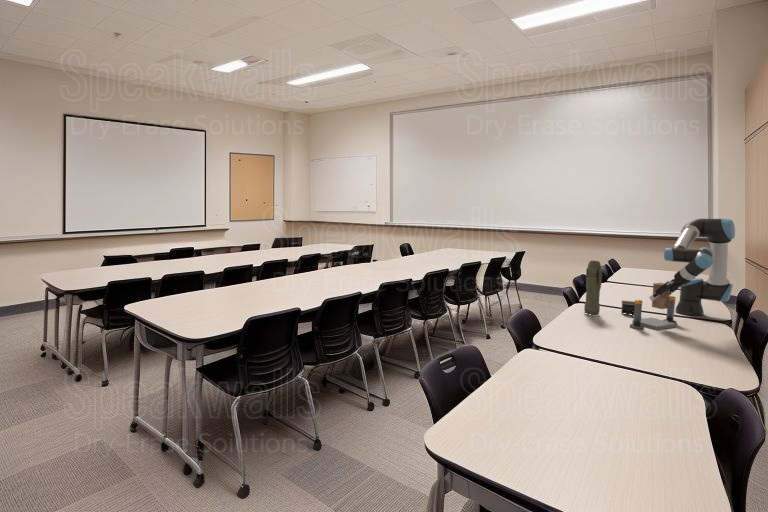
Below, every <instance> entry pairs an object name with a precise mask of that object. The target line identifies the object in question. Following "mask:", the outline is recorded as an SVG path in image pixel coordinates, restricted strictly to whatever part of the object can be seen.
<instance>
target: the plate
mask: <svg viewBox="0 0 768 512" xmlns="http://www.w3.org/2000/svg"><path fill="white" fill-rule="evenodd" d="M633 323H634V319H632V324H633ZM641 325H642V326H644V328H646V329H647V328H648V329H651V330H655V331H656V330H657V331H658V330H664V329H665V328H666V329H670V327H672V328H675V327H676V324H675V323H671V322H667V321H663V319H658V318H655V317H645V318H641Z"/></svg>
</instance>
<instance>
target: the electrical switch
mask: <svg viewBox="0 0 768 512" xmlns="http://www.w3.org/2000/svg"><path fill="white" fill-rule="evenodd" d="M634 308H635V300H634V301H633V300H632V301H631V300H624V299H623V300H621V311H620V312H621V314H622V315H624V314H623V313H626V314H632V315H631V316H633V315H634Z"/></svg>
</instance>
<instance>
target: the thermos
mask: <svg viewBox="0 0 768 512" xmlns="http://www.w3.org/2000/svg"><path fill="white" fill-rule="evenodd" d="M587 264H588V265H587V268H586V274H585V289H586V290H585V303H584V308H583V309H584V313H587V314H591V315H598V314H599V315H600V311H601V308H600V307H601V304H600V294H601V293H600V292H601V289H602V279H603V271H602V265H601V262H600V261H598V260H590V261H589V262H588V263H587Z"/></svg>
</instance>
